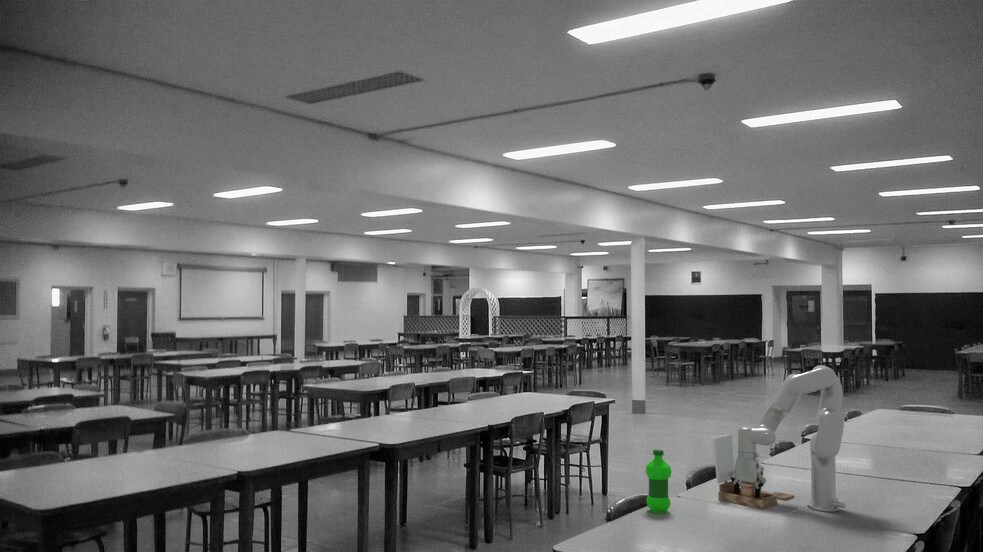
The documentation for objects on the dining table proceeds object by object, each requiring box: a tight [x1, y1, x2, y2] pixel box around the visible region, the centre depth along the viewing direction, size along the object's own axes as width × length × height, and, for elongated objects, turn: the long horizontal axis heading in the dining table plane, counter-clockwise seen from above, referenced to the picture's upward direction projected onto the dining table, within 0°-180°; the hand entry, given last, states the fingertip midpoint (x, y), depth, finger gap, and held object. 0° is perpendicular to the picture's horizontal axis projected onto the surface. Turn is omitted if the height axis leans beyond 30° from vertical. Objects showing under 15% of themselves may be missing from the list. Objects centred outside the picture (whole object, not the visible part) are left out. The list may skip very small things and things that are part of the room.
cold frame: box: [717, 480, 778, 510], centre depth 324 cm, size 22×14×20 cm, turn 44°
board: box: [769, 491, 795, 502], centre depth 331 cm, size 9×9×2 cm
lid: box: [712, 433, 735, 484], centre depth 331 cm, size 20×15×1 cm
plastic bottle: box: [645, 448, 672, 514], centre depth 308 cm, size 10×10×25 cm
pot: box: [739, 481, 755, 499], centre depth 323 cm, size 7×7×8 cm
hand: (747, 495), depth 323 cm, fingers open, 8 cm apart
